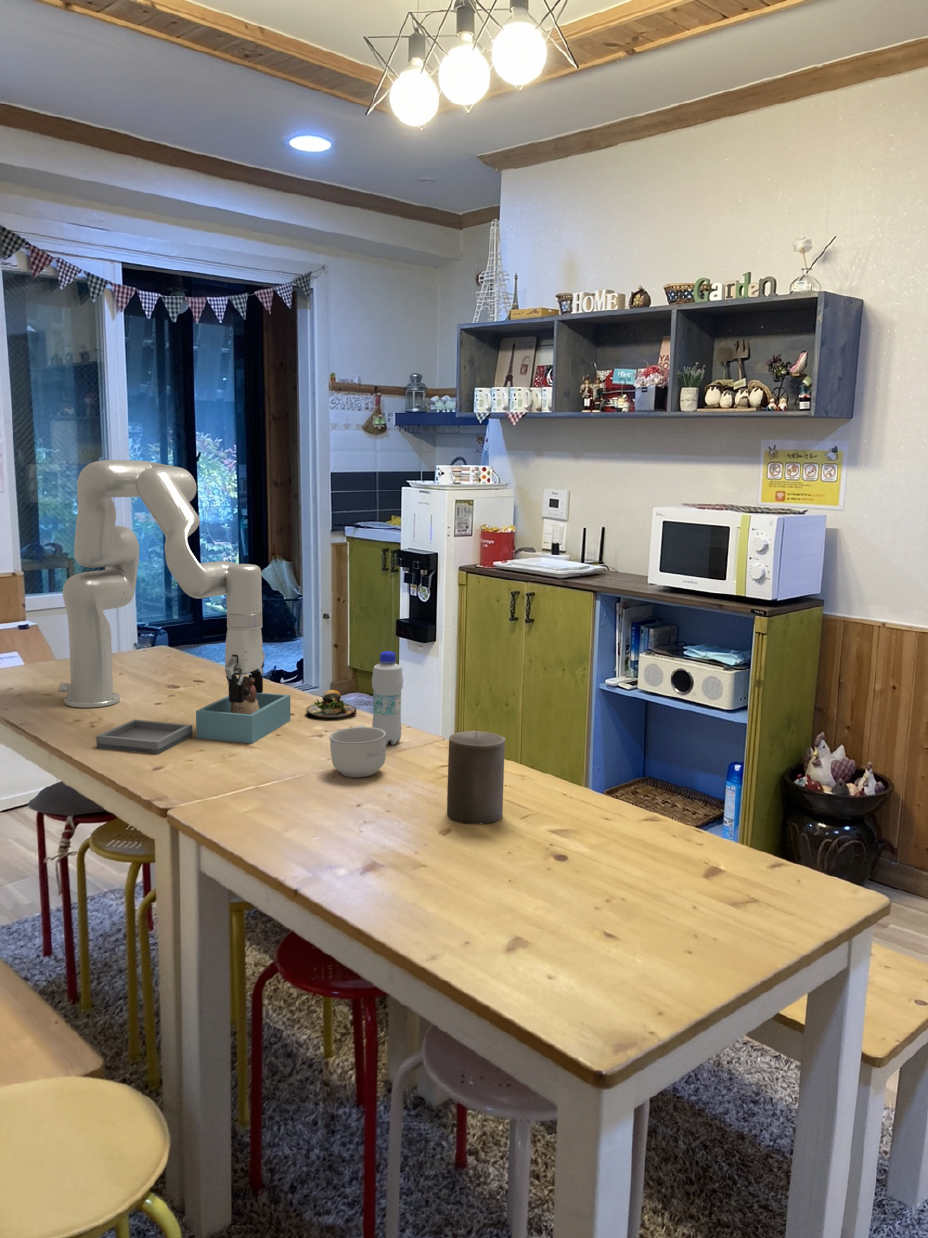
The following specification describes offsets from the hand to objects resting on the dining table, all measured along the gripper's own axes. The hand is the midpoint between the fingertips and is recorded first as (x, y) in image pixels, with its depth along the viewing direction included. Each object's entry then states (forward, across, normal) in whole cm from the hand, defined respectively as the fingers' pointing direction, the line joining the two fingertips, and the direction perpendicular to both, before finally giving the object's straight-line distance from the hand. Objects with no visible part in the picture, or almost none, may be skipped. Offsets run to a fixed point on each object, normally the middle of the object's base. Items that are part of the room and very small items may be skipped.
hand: (246, 697), depth 220 cm
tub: (+7, 0, 0) cm, 7 cm away
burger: (+8, -18, +13) cm, 24 cm away
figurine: (+7, 0, 0) cm, 8 cm away
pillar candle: (+9, +37, +60) cm, 71 cm away
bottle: (+8, 0, +32) cm, 33 cm away
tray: (+7, +16, -16) cm, 23 cm away
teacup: (+8, +20, +34) cm, 40 cm away
